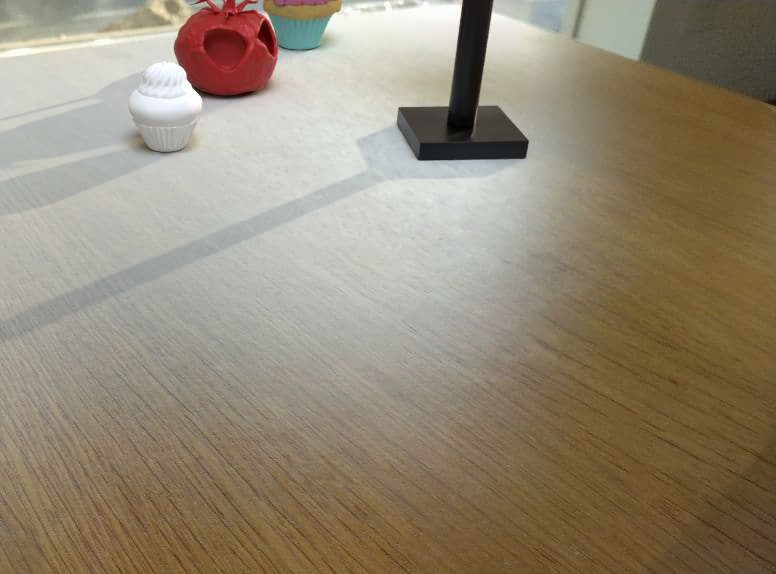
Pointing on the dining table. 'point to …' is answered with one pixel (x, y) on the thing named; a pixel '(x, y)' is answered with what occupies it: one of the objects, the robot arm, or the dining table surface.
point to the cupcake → (300, 21)
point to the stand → (464, 105)
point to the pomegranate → (227, 48)
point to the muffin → (165, 107)
